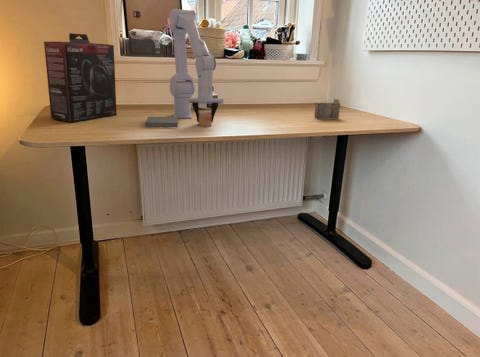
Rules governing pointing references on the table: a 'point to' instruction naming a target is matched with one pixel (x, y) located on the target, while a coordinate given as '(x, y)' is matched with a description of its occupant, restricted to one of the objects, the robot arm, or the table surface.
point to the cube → (205, 119)
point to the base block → (162, 122)
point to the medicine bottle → (208, 106)
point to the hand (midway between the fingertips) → (204, 121)
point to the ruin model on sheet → (327, 109)
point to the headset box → (80, 79)
